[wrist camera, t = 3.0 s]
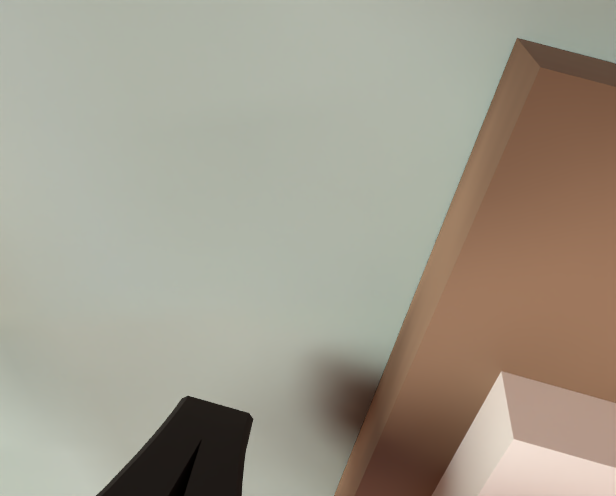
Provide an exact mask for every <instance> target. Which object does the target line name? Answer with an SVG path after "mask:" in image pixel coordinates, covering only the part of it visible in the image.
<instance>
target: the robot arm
mask: <svg viewBox="0 0 616 496" xmlns="http://www.w3.org/2000/svg"><path fill="white" fill-rule="evenodd" d="M252 422H253V418H252V417H251V415H250V414H249V413H246V412H243V411H239V410H236V409H232V408H229V407H225V406H222V405H218V404H215V403H211V402H208V401H204V400H201V399H197V398H194V397H190V396H187V397H184V398H182V399H181V401H180V402H179V403H178V405H177V406H176V408H175V409H174V410H173V412H172V413H171V414H170V415H169V417H168V418H167V419H166V420H165V422H164V423H163V424H162V425H161V427H160V428H159V429H158V430H157V431H156V433H155V434H154V435H153V436H152V437H151V438H150V439H149V441H148V442H147V443H146V444H145V445H144V446H143V447H142V449H141V450H140V451H139V452H138V453H137V454H136V455H135V456H134V457H133V458H132V459H131V460H130V461H129V463H128V464H127V465H126V466H125V467H124V468H123V469H122V470H121V471H120V472H119V473H118V474H117V475H116V476H115V477H114V478H113V479H112V480H111V481H110V483H109V484H108V485H107V486H106V487H105V488H104V489H103V490H102V491H101V492H100V493H99V494H97V495H96V496H242V481H243V470H244V460H245V453H246V448H247V444H248V439H249V435H250V431H251V427H252Z"/></svg>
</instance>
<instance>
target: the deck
mask: <svg viewBox="0 0 616 496" xmlns="http://www.w3.org/2000/svg"><path fill="white" fill-rule="evenodd" d="M501 371H503V372H506V373H510V374H513V375H517V376H520V377H524V378H528V379H531V380H535V381H538V382H542V383H545V384H549V385H553V386H556V387H560V388H563V389H567V390H571V391H574V392H578V393H581V394H585V395H588V396H592V397H596V398H599V399H603V400H606V401H610V402H613V403H616V64H615V63H611V62H607V61H603V60H599V59H596V58H592V57H588V56H584V55H580V54H576V53H572V52H569V51H565V50H561V49H557V48H553V47H549V46H546V45H542V44H538V43H534V42H530V41H526V40H522V39H519V38H517V40H516V42H515V45H514V47H513V50H512V52H511V55H510V57H509V60H508V62H507V65H506V67H505V70H504V72H503V75H502V77H501V80H500V82H499V85H498V87H497V90H496V92H495V95H494V97H493V100H492V102H491V105H490V107H489V110H488V112H487V115H486V117H485V120H484V122H483V125H482V127H481V130H480V132H479V135H478V137H477V140H476V142H475V145H474V147H473V150H472V152H471V155H470V157H469V160H468V162H467V165H466V167H465V170H464V172H463V175H462V177H461V180H460V182H459V185H458V187H457V190H456V192H455V195H454V197H453V200H452V202H451V205H450V207H449V210H448V212H447V215H446V217H445V220H444V222H443V225H442V227H441V230H440V232H439V235H438V237H437V240H436V242H435V245H434V247H433V250H432V252H431V255H430V257H429V260H428V262H427V265H426V267H425V270H424V272H423V275H422V277H421V280H420V282H419V285H418V287H417V290H416V292H415V295H414V297H413V300H412V302H411V305H410V307H409V310H408V312H407V315H406V317H405V320H404V322H403V325H402V327H401V330H400V332H399V335H398V337H397V340H396V342H395V345H394V347H393V350H392V352H391V355H390V357H389V360H388V362H387V365H386V367H385V370H384V372H383V375H382V377H381V380H380V382H379V385H378V387H377V390H376V392H375V395H374V397H373V400H372V402H371V405H370V407H369V410H368V412H367V415H366V417H365V420H364V422H363V425H362V427H361V430H360V432H359V435H358V437H357V440H356V442H355V445H354V447H353V450H352V452H351V455H350V457H349V460H348V462H347V465H346V467H345V470H344V472H343V475H342V477H341V480H340V482H339V485H338V487H337V490H336V492H335V495H334V496H432V494H433V492H434V491H435V489H436V487H437V485H438V483H439V482H440V480H441V478H442V476H443V474H444V473H445V471H446V469H447V467H448V466H449V464H450V462H451V460H452V458H453V457H454V455H455V453H456V451H457V449H458V448H459V446H460V444H461V442H462V441H463V439H464V437H465V435H466V433H467V432H468V430H469V428H470V426H471V424H472V423H473V421H474V419H475V417H476V415H477V414H478V412H479V410H480V408H481V407H482V405H483V403H484V401H485V399H486V398H487V396H488V394H489V392H490V390H491V389H492V387H493V385H494V383H495V382H496V380H497V378H498V376H499V374H500V373H501Z"/></svg>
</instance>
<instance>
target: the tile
mask: <svg viewBox="0 0 616 496" xmlns="http://www.w3.org/2000/svg"><path fill="white" fill-rule="evenodd" d="M432 496H616V403H613V402H610V401H606V400H603V399H599V398H596V397H592V396H588V395H585V394H581V393H578V392H574V391H571V390H567V389H563V388H560V387H556V386H553V385H549V384H545V383H542V382H538V381H535V380H531V379H528V378H524V377H520V376H517V375H513V374H510V373H506V372H503V371H501V373H500V374H499V376H498V378H497V380H496V382H495V383H494V385H493V387H492V389H491V390H490V392H489V394H488V396H487V398H486V399H485V401H484V403H483V405H482V407H481V408H480V410H479V412H478V414H477V415H476V417H475V419H474V421H473V423H472V424H471V426H470V428H469V430H468V432H467V433H466V435H465V437H464V439H463V441H462V442H461V444H460V446H459V448H458V449H457V451H456V453H455V455H454V457H453V458H452V460H451V462H450V464H449V466H448V467H447V469H446V471H445V473H444V474H443V476H442V478H441V480H440V482H439V483H438V485H437V487H436V489H435V491H434V492H433V494H432Z"/></svg>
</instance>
